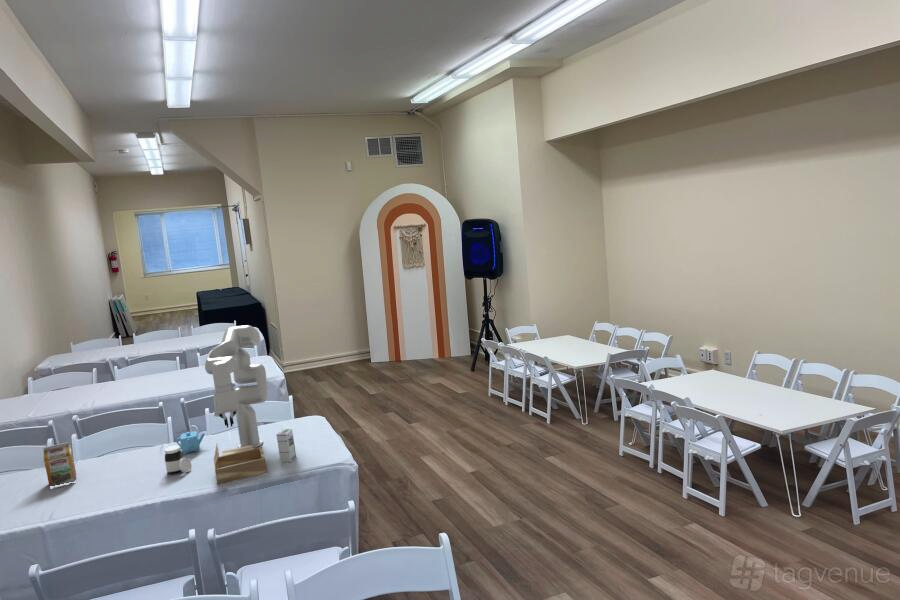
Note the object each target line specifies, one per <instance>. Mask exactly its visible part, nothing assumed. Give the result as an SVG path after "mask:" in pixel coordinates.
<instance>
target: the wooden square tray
mask: <svg viewBox="0 0 900 600" xmlns="http://www.w3.org/2000/svg"><path fill="white" fill-rule="evenodd" d="M221 454H222V455H219V457H218V462H217V467H215V460H214V459H213V465H214V473H215V477H216V478H215V479H216V485H221V484H225V483H230V482H234V481H239V480H242V479H243V480H244V479H247V478H251V477H256V476H261V475H263V474H268V467H267V460H266V456H265V453H264V450H263V447H262V446H259V447H257V448H254V449H253V447H252V445H249V446H245V447H240V448H238V447H237V448H236V447H235V448H231V449H228V450H223V451H221Z"/></svg>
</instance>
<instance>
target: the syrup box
mask: <svg viewBox="0 0 900 600" xmlns="http://www.w3.org/2000/svg"><path fill="white" fill-rule="evenodd" d="M294 440H295V439H294V433H293V429H290V428H284V429H281V430H279V432H277V433H276V441H277V448H278V454H279V459H280V460H279V461H280V463H292V462H293V461H294V460H295V459H296V458H297V453H296V446H295V441H294Z"/></svg>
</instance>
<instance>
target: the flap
mask: <svg viewBox="0 0 900 600" xmlns="http://www.w3.org/2000/svg"><path fill="white" fill-rule="evenodd" d="M219 450H220V449H219V443H216V446H215V451H214V457H213V461H214V460H215V466H214V468H215V467H217V462H218V457H219V456H220V451H219Z"/></svg>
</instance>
